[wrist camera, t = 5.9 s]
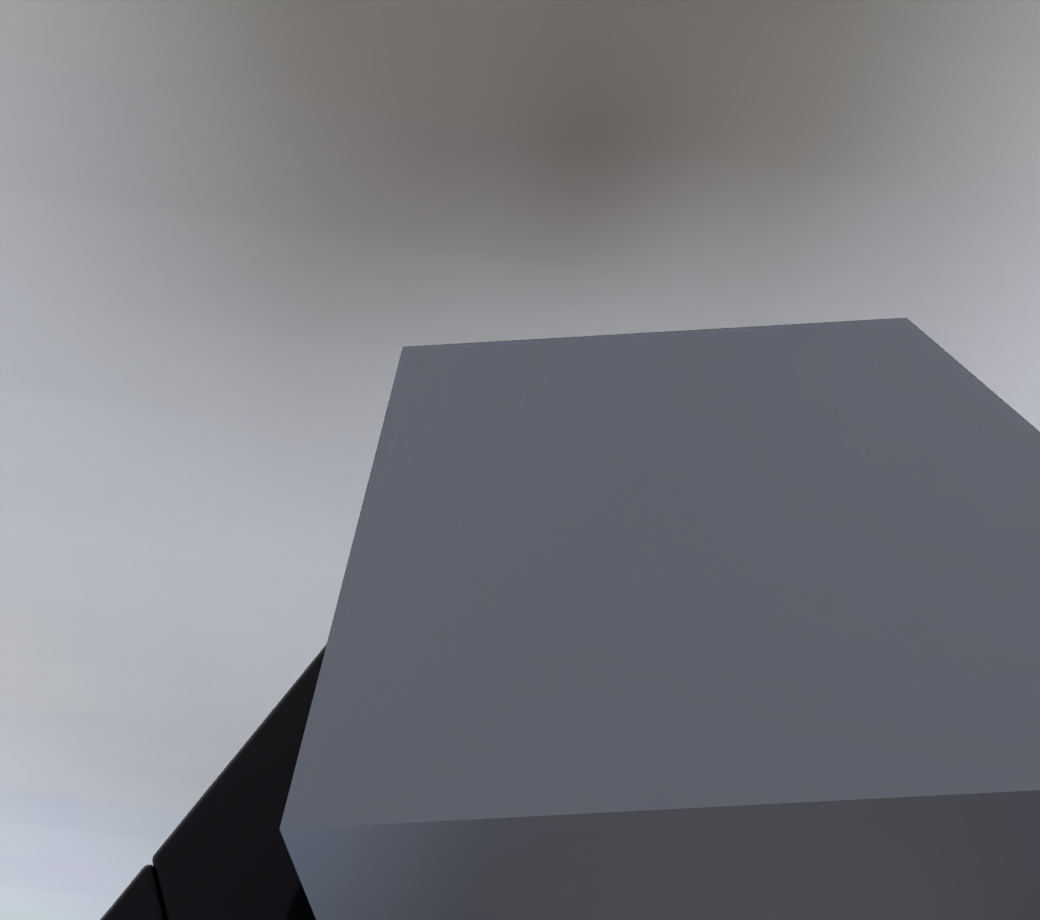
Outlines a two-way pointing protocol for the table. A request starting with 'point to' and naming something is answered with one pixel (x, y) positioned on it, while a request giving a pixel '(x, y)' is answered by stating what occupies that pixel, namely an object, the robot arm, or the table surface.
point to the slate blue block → (684, 638)
